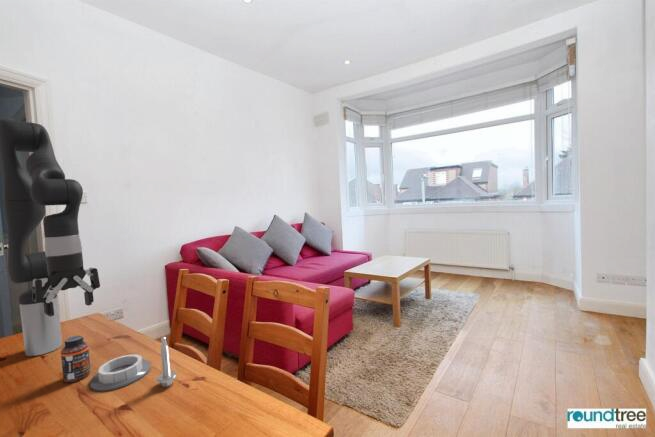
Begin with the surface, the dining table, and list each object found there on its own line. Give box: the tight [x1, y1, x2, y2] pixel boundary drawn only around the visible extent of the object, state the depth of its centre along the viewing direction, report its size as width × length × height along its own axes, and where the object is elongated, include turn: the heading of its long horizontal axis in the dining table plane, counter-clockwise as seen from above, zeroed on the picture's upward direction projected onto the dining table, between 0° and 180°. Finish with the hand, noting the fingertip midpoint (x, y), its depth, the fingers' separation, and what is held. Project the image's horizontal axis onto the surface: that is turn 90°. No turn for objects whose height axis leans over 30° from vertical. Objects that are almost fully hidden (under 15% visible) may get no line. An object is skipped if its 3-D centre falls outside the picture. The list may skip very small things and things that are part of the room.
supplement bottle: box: [60, 334, 91, 383], centre depth 85 cm, size 6×6×11 cm
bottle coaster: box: [89, 354, 152, 392], centre depth 85 cm, size 14×14×3 cm
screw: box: [155, 336, 178, 388], centre depth 79 cm, size 13×5×5 cm
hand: (70, 310), depth 84 cm, fingers open, 8 cm apart
